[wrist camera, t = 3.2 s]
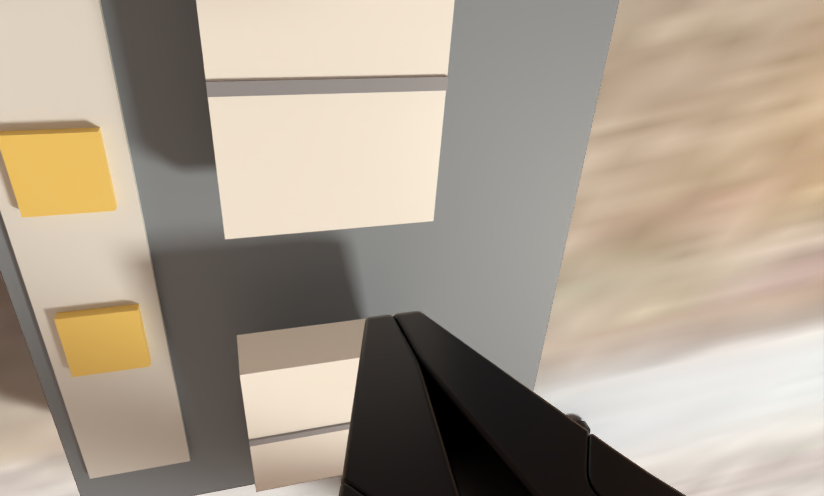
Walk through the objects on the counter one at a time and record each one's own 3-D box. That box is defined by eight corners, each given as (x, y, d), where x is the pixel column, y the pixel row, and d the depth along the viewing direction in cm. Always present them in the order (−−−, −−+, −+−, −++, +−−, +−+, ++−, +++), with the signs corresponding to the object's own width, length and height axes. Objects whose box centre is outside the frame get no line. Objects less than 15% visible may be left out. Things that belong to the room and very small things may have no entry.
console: (487, 365, 28) (535, 451, 23) (104, 426, 23) (82, 543, 19) (586, -251, 16) (712, -291, 12) (-124, -348, 12) (-296, -461, 8)
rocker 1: (419, 198, 16) (434, 222, 15) (223, 213, 15) (225, 240, 14) (443, -106, 12) (465, -101, 11) (184, -123, 11) (181, -119, 10)
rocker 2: (396, 431, 22) (404, 464, 21) (253, 457, 20) (256, 494, 20) (423, 311, 17) (435, 349, 16) (236, 335, 15) (240, 377, 15)
